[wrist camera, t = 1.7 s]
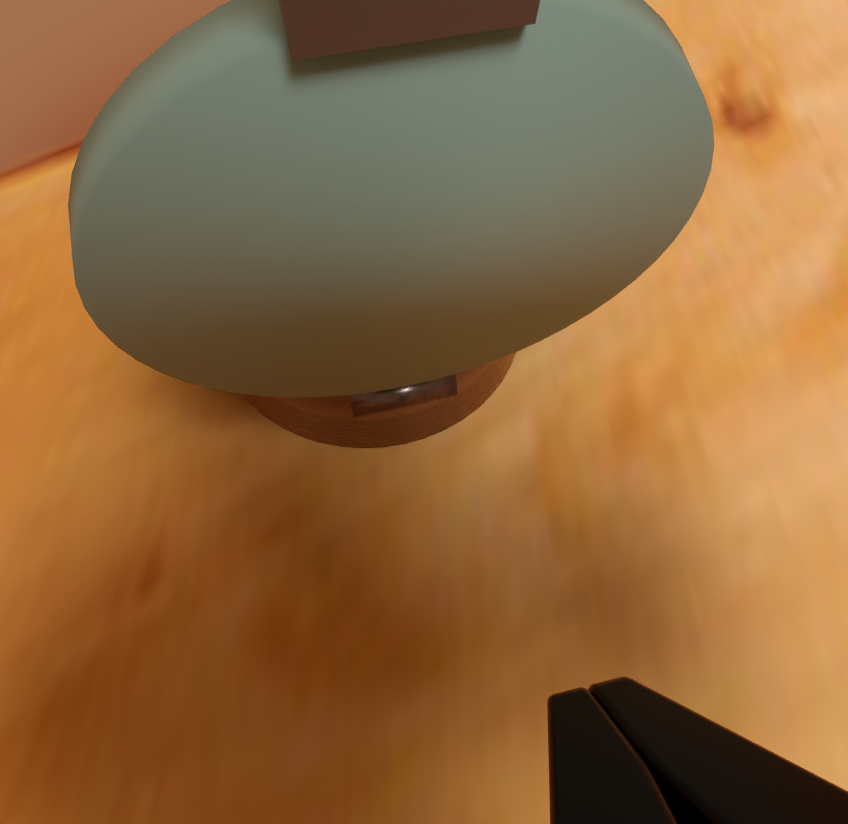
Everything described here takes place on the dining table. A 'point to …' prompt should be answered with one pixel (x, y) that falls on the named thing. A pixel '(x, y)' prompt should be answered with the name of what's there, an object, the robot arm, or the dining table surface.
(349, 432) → the cooker pot
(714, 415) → the dining table surface
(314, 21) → the lid
